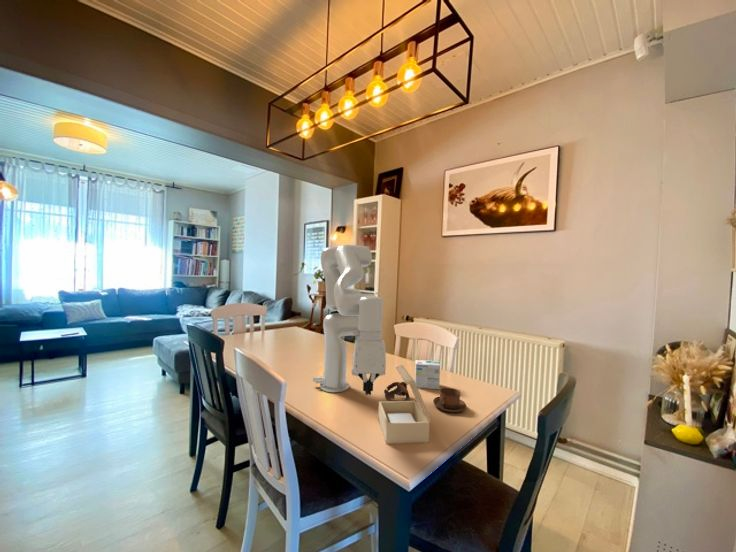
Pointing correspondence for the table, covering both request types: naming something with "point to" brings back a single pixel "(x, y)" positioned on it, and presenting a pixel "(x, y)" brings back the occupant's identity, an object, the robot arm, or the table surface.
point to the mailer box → (403, 422)
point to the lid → (412, 387)
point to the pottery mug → (397, 390)
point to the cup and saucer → (449, 400)
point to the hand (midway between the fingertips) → (367, 393)
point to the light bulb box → (427, 374)
